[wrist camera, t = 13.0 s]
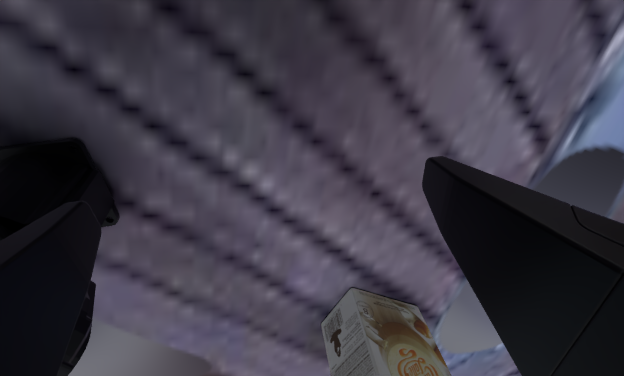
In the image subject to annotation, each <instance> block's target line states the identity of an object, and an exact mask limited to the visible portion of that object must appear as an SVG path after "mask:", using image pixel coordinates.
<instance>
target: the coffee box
mask: <svg viewBox="0 0 624 376" xmlns="http://www.w3.org/2000/svg"><path fill="white" fill-rule="evenodd" d="M321 327H322V332H323V337H324V342H325V347H326V352H327V357H328V362H329V368H330V373H331V376H451V374H450V372H449V369H448V367H447V365H446V363H445V361H444V359H443V357H442V355H441V353H440V351H439V349H438V347H437V345H436V343H435V341H434V339H433V337H432V335H431V333H430V331H429V329H428V327H427V325H426V323H425V321H424V319H423V317H422V315H421V313H420V311H419V309H418V307H417V306H414V305H411V304H407V303H404V302H400V301H397V300H393V299H390V298H387V297H383V296H380V295H376V294H373V293H369V292H366V291H362V290H359V289H355V288H351V289H350V290H349V291H348V292H347V293H346V294H345V296H344V297H343V298H342V299H341V300H340V302H339V303H338V304H337V305H336V306H335V308H334V309H333V310H332V311H331V312H330V314H329V315H328V316H327V317H326V319H325V320H324V321H323V322H322V323H321Z"/></svg>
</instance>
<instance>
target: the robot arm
mask: <svg viewBox="0 0 624 376" xmlns="http://www.w3.org/2000/svg"><path fill="white" fill-rule="evenodd" d="M70 145H73V146H75V147H76V148H77V150H75V149H73V148H72V147H71V146H70ZM422 188H423V191H424V194H425V196H426V199H427V201H428V204H429V206H430V208H431V211H432V213H433V215H434V218H435V220H436V223H437V225H438V227H439V230H440V232H441V234H442V236H443V238H444V240H445V241H446V243H447V245H448V247H449V249H450V250H451V252H452V254H453V256H454V257H455V259H456V261H457V263H458V264H459V266H460V268H461V270H462V271H463V273H464V275H465V277H466V278H467V280H468V282H469V284H470V285H471V287H472V289H473V291H474V293H475V294H476V296H477V298H478V299H479V301H480V303H481V305H482V307H483V308H484V310H485V312H486V314H487V315H488V317H489V319H490V321H491V322H492V324H493V326H494V328H495V329H496V331H497V333H498V335H499V336H500V338H501V340H502V342H503V344H504V345H505V347H506V349H507V351H508V352H509V354H510V356H511V358H512V359H513V361H514V363H515V365H516V366H517V368H518V370H519V372H520V373H521V375H522V376H624V224H623V223H620V222H617V221H615V220H612V219H609V218H606V217H604V216H601V215H598V214H595V213H592V212H590V211H587V210H584V209H582V208H579V207H576V206H574V205H572V206H570V204H568V203H566V202H563V201H560V200H558V199H555V198H552V197H550V196H547V195H544V194H541V193H539V192H536V191H534V190H531V189H528V188H526V187H523V186H521V185H518V184H515V183H513V182H510V181H507V180H505V179H502V178H499V177H497V176H494V175H491V174H489V173H486V172H483V171H481V170H478V169H475V168H473V167H470V166H467V165H465V164H462V163H460V162H457V161H454V160H452V159H449V158H446V157H443V156H438V157H430V158H428V159H427V160H426V163H425V169H424V175H423V181H422ZM108 217H111V218H113V219H109V218H108ZM118 220H119V214H118V212H117V210H116V208H115V206H114V199H113V197H112V195H111V193H110V191H109V189H108V187H107V185H106V183H105V181H104V179H103V177H102V175H101V173H100V171H98V170H97V169H96V168H95V166H94V164H93V162H92V160H91V158H90V156H89V154H88V152H87V150H86V148H85V146H84V144H83V143H82V142H81V141H80V140H78V139H73V138H71V139H63V140H54V141H46V142H38V143H29V144H21V145H13V146H5V147H0V376H68V374H69V373H70V372H71V371H72V370H73V368H74V367H75V365H76V364H77V363H78V361H79V360H80V358H81V356H82V354H83V353H84V351H85V349H86V346H87V344H88V341H89V338H90V334H91V327H92V316H93V306H94V297H95V288H96V284H95V283H94V282H92V281H91V277H92V272H93V268H94V263H95V259H96V255H97V250H98V246H99V241H100V237H101V227H105V226H112V225H115V224H116V223H117V222H118Z"/></svg>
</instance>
